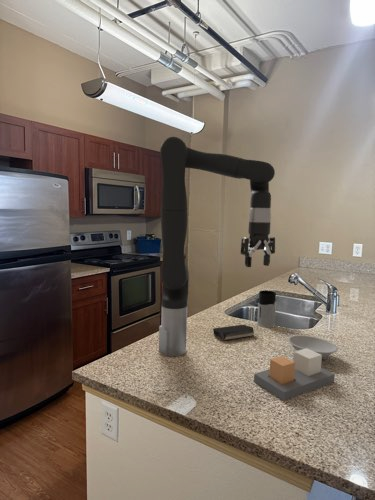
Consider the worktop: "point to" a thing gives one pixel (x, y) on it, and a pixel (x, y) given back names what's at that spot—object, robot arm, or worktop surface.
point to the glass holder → (265, 308)
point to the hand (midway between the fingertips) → (257, 266)
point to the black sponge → (233, 332)
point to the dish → (312, 344)
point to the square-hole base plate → (298, 376)
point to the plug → (282, 370)
